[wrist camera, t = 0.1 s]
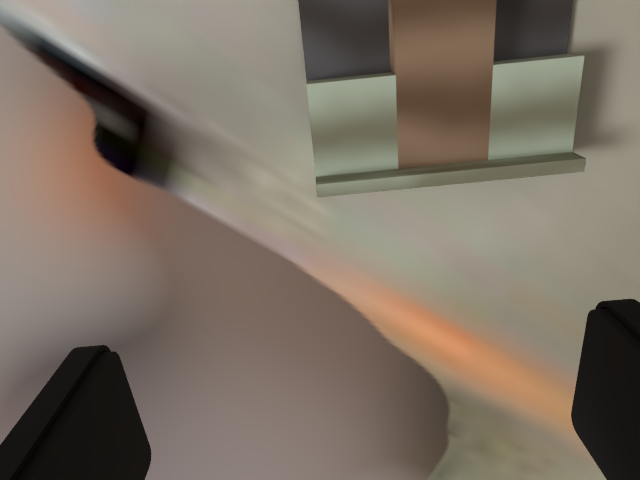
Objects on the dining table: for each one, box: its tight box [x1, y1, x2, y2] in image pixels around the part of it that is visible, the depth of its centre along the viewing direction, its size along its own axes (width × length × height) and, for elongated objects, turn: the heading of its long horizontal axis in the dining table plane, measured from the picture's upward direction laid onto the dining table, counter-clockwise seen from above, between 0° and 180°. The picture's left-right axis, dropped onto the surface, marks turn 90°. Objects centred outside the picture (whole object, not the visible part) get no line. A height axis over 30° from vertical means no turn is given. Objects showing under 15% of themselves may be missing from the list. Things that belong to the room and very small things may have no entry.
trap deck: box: [298, 0, 586, 197], centre depth 32 cm, size 25×20×5 cm
